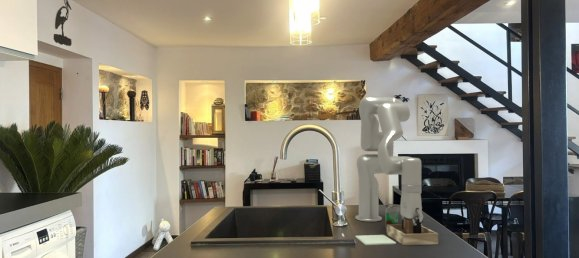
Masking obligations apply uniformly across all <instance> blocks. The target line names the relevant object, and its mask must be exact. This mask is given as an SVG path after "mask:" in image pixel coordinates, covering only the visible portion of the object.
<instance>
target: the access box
mask: <svg viewBox="0 0 579 258" xmlns="http://www.w3.org/2000/svg"><path fill="white" fill-rule="evenodd" d="M386 236H387V237H389V238H390V237H391V238H392V240H395V242H398V243H400V244H401V245H403V246H419V245H420V246H421V245H422V246H423V245H424V246H426V245H439V233H438V232H435V231H434V230H431V229H429V228H428V227H425V226H423V225H421V234H404V230H403V229H402V223H401V224H399V223H398V224H395V225H387V231H386Z"/></svg>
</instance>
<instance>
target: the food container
mask: <svg viewBox="0 0 579 258" xmlns="http://www.w3.org/2000/svg"><path fill="white" fill-rule="evenodd" d="M384 205H385V208H384V209H385V211H384V213H385V214H384V216H385V218H384V219H385V221H384V223H385V224H384V225H385V231H386V232H387V225H395V224H399V214H400V205H398V204H394V203H385V204H384Z"/></svg>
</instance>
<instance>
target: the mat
mask: <svg viewBox="0 0 579 258" xmlns="http://www.w3.org/2000/svg"><path fill="white" fill-rule="evenodd" d="M355 238H356V239H357V240H359V242H361V243H363V245H365V246H373V245H374V246H377V245H378V246H379V245H380V246H381V245H396V244H397V241H394V239H391V238H390V237H389V236H387V235H385V234H369V235H368V234H367V235H366V234H365V235H364V234H363V235H355Z"/></svg>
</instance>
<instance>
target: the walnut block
mask: <svg viewBox="0 0 579 258" xmlns="http://www.w3.org/2000/svg"><path fill="white" fill-rule="evenodd" d="M416 221H417V220H416ZM413 225H414V223H413V220H412V219H407V218H404V234H413Z"/></svg>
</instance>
